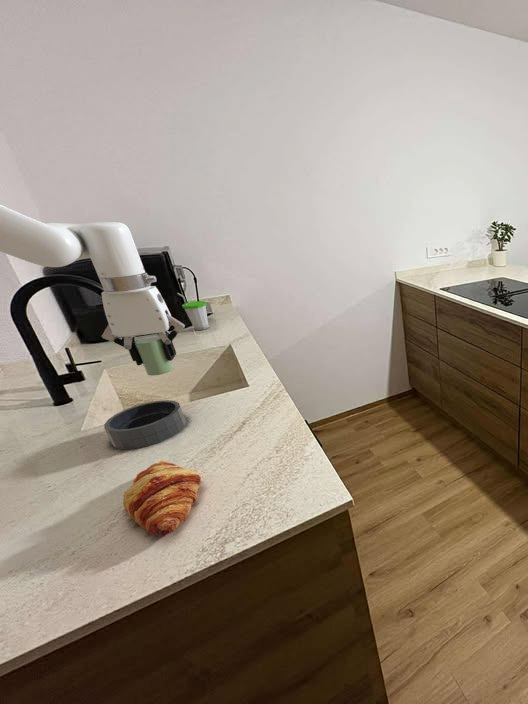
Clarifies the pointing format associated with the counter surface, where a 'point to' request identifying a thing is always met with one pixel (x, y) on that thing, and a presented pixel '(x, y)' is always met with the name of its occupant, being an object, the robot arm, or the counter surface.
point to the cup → (196, 313)
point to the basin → (145, 424)
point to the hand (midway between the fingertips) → (156, 360)
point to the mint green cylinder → (153, 355)
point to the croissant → (161, 497)
